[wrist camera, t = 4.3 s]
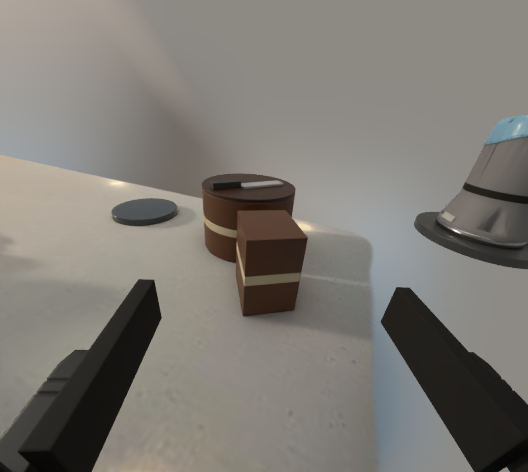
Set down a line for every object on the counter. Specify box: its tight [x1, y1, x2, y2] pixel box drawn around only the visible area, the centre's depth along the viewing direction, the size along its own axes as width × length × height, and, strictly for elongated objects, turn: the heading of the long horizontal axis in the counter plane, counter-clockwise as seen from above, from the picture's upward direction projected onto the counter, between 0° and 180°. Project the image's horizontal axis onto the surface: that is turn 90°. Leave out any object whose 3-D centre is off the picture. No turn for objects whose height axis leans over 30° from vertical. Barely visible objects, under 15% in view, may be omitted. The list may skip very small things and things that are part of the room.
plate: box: [112, 198, 177, 225], centre depth 38 cm, size 10×10×1 cm
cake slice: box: [236, 210, 308, 316], centre depth 22 cm, size 6×5×8 cm
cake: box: [202, 174, 295, 263], centre depth 31 cm, size 12×12×9 cm
